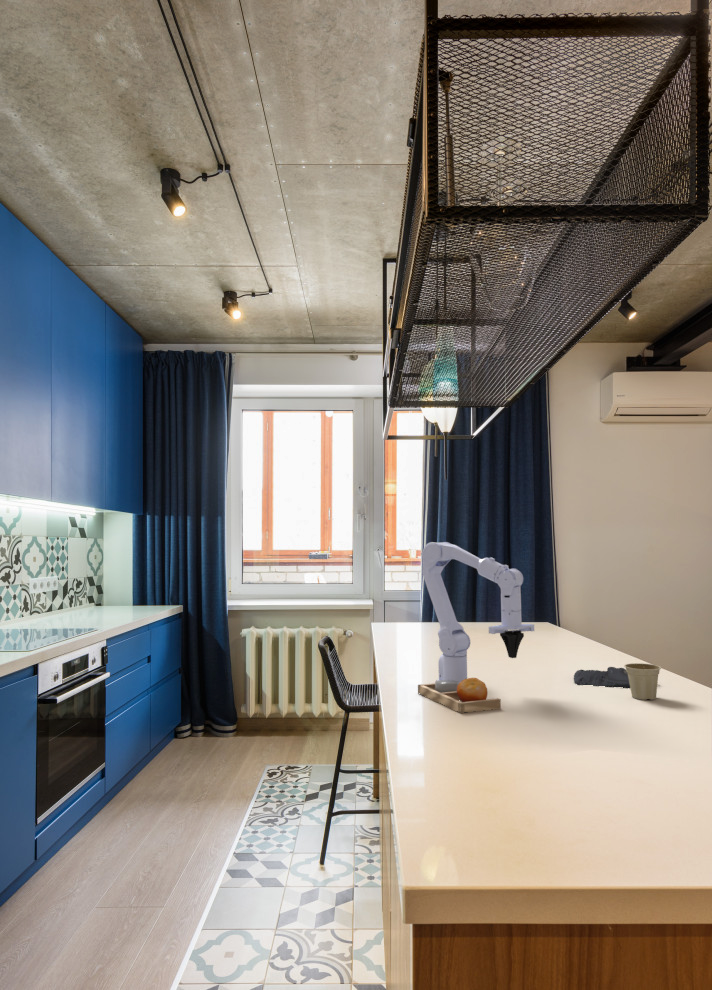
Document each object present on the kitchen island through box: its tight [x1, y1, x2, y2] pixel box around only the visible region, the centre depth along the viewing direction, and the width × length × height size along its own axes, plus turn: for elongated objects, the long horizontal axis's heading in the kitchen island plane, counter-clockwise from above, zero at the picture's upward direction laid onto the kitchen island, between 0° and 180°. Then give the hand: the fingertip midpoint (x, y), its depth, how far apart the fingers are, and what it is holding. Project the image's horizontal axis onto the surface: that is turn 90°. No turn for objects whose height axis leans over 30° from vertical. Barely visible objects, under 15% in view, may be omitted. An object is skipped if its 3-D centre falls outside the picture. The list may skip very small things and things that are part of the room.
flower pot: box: [623, 662, 662, 701], centre depth 183 cm, size 9×9×9 cm
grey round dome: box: [434, 679, 459, 693], centre depth 187 cm, size 7×7×4 cm
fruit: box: [457, 677, 488, 702], centre depth 177 cm, size 8×8×8 cm
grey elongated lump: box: [573, 666, 630, 689], centre depth 203 cm, size 15×22×5 cm
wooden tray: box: [417, 682, 502, 714], centre depth 181 cm, size 24×12×2 cm, turn 21°
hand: (512, 657), depth 191 cm, fingers closed
